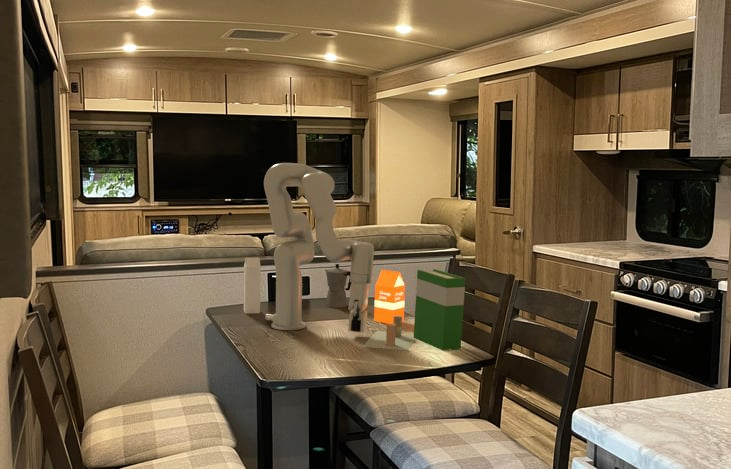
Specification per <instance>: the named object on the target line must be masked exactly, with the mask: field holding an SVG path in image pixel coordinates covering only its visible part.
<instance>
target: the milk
mask: <svg viewBox="0 0 731 469" xmlns="http://www.w3.org/2000/svg"><path fill="white" fill-rule="evenodd" d="M261 268H262V266H261V258H260V257H245V258H244V264H243V312H244V314H260V313H261V271H262V270H261Z"/></svg>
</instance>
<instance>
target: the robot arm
mask: <svg viewBox="0 0 731 469" xmlns="http://www.w3.org/2000/svg"><path fill="white" fill-rule="evenodd" d="M265 173H266V174H265V175H264V179H263V187H264V188H263V189H264V192H265V196H266V201H267V204H268V211H269V215H270V222H271V226H272V232H273V233H274V234H275V236H276V237H277V238H279V239H286V238H287V239H288V238H290V241H284V242H281V243H280V244H278V245H277V246H276V247H275V248H274V249H275V250H274V253H273V262H274V268H275V280H276V281H275V313H274V314H271V313H266V314H265V315H264V318H265V320H266V321H271V329H272V328H273V329H275V330H278V331H279V330H280V331H298V330H303V329H305V328H306V326H307V325H306V324H307V323H305V322H304V321H303V320H302V319H303V318H302V317H303V316H302V312H303V311H302V310H303V309H302V308H303V304H302V302H303V275H302V272H301V269H300V266H304V265H308V264H310V263H311V262H312V261H313V260H314V258H315V253H316V250H315V243H314V238H313V232H312V227H311V223H310V220H309V218H308V217H307V216H306V214H304V212H301V211H297V210H296V211H295V210H294V208H293V202H292V201H293V200H292V198H291V195H290V194H289V192H288V191H287V187H300V190H301V191H302V194H303V196H304V197H305V200H306V202H307V204H308V206H309V208H310V210H311V212H312V214H313V217H314V219H315V223H314V224H315V225H314V227H315V237H316V241H317V244H318V246H319V247H320V250H321V252H322V254H323V255H324V257H325V258H326V259H327V260H328V261H329V262H332V263H341V262H344V261H349V260H350V261H351V262H350V272H351V273H350V277H349V278H350V282H352V284H351V287H350V290H349V291H350V292H349V298H348V299H349V300H348V308H347V309H348V312H350V311H352V310H353V311H352V321H351V331H350V332H353V331H356V332H355V333H361V332H360V327H361V320H360V316H361V312H362V311H363V310H365V309H366V308H367V307H368V302H369V301H368V300H369V287H370V286H369V285H370V284H372V280H373V268H374V267H373V266H374V254H375V253H374V252H375V246H374V244H373V243H372V242H371V243H370V242H366V241H358V240H355V239H353V238H352V239H351V238H343V239H342V238H341V239H338V237H337V234H336V233H335V230H334V226H333V220H334V217H335V215H336V214H337V213H338V208H337V206H336V203H335V201H334V199H333V197H332V195H331V194H332V193H333V192H334V190H335V181H334V180H335V179H333V177H332V176H331V175H330V174H328V173H327V172H324V171H323V170H320V169H316V168H315V167H312V166H309V165H306V164H304V163H300V162H299V163H298V162H297V163H295V162H280V163H276V164H274V165H272V166H271V167H269V169H268V170H267V172H265ZM357 310H359V311H357ZM365 311H366V310H365ZM357 313H359V315H358V314H357Z"/></svg>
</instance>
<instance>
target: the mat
mask: <svg viewBox="0 0 731 469" xmlns="http://www.w3.org/2000/svg"><path fill="white" fill-rule="evenodd" d="M386 335H387V331H380V330H379V331H378V330H376V331H375V332H374V333H373V334H372V335H371V337H369V339H368V340H367V341H366V342H365V344H364V345H363V346H362V347H363V348H373V349H375V348H376V349H387V350H396V351H397V350H398V351H409V349H410V347H411V346H412V344H413V343H414V341H415V339H416V338H414V333H403V332H402V335H401V337H395V346H394V347H393V346H386Z"/></svg>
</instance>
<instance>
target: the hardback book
mask: <svg viewBox="0 0 731 469" xmlns="http://www.w3.org/2000/svg"><path fill="white" fill-rule="evenodd" d="M465 287H466V277H462V276H459V275H458V274H457V275H456V274H452V273H450V272H446V271H443V270H439V269H435V268H434V269H433V270H432V271H426V270H425V271H424V270H421V269H417V274H416V289H415V290H416V291H415V307H414V308H415V309H414V322H413V323H414V324H413V325H414V326H413V334H414V338H415V339H416V340H417V341H421V342H423V343H425V344H428V345H430V346H431V347H433V348H436V349H437V350H441V351H449V350H450V351H453V350H454V351H455V350H456V351H457V350H461V348H462V337H463V336H462V334H463V332H462V331H463V320H464V308H465V307H464V306H465V305H464V304H465V293H466V292H465V291H466V290H465V289H466V288H465Z"/></svg>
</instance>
